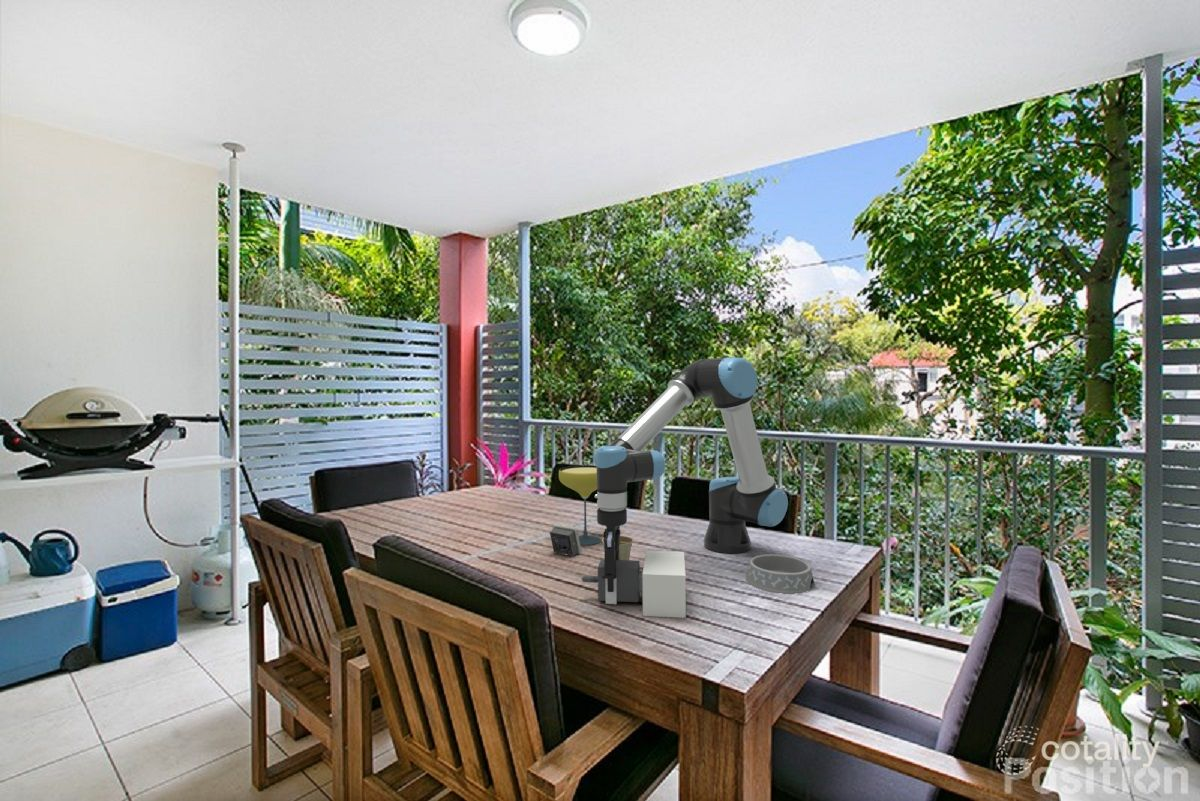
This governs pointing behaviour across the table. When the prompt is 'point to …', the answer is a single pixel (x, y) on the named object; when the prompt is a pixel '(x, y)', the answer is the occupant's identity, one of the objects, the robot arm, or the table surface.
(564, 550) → the electrical switch
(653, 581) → the white rectangular block
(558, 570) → the table surface
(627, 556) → the flower pot
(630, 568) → the plug
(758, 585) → the dog bowl
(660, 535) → the table surface
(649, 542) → the table surface
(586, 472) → the cocktail glass
